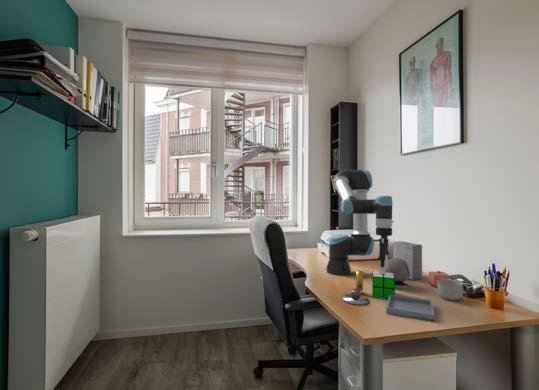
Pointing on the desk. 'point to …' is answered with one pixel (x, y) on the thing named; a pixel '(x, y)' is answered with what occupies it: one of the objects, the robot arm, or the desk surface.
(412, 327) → the desk surface
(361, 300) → the crank base
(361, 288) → the crank lever
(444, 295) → the teacup
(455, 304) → the desk surface
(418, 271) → the hard drive box
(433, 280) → the pink cube teapot
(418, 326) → the desk surface
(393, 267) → the webcam
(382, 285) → the puzzle cube
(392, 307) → the tray
